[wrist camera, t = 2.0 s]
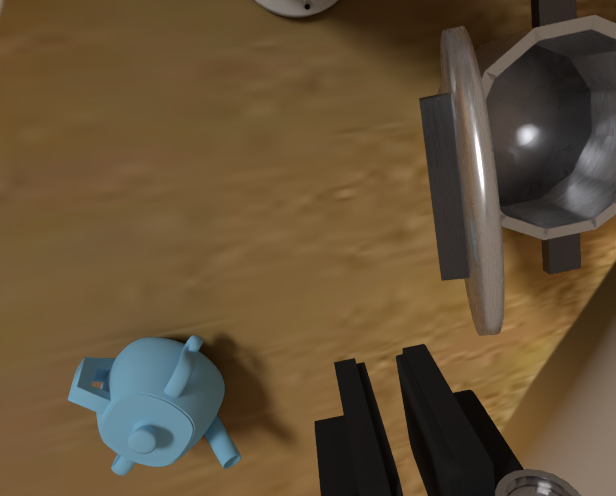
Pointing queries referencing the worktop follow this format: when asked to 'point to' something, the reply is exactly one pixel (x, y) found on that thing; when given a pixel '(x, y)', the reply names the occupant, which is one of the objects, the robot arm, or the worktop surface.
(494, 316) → the lid
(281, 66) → the worktop surface
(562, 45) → the pot
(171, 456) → the teapot
